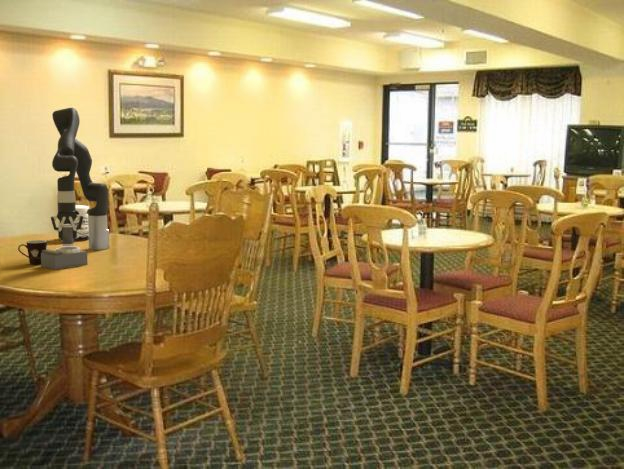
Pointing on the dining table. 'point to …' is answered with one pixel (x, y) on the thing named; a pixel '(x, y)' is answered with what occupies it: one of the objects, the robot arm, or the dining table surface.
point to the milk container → (84, 231)
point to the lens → (67, 235)
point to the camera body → (63, 258)
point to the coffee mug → (34, 250)
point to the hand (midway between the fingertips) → (67, 239)
